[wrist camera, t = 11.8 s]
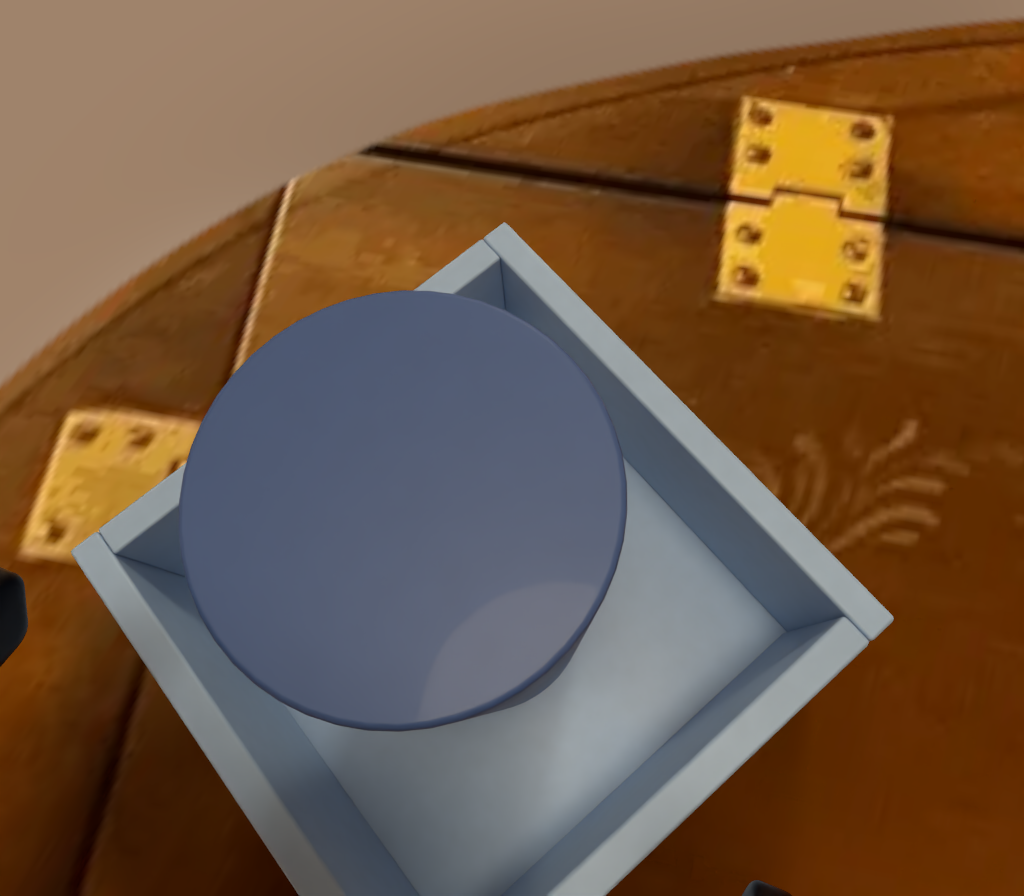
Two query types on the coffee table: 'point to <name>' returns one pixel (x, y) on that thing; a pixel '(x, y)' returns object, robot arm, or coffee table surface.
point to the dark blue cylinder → (403, 512)
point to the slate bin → (559, 708)
